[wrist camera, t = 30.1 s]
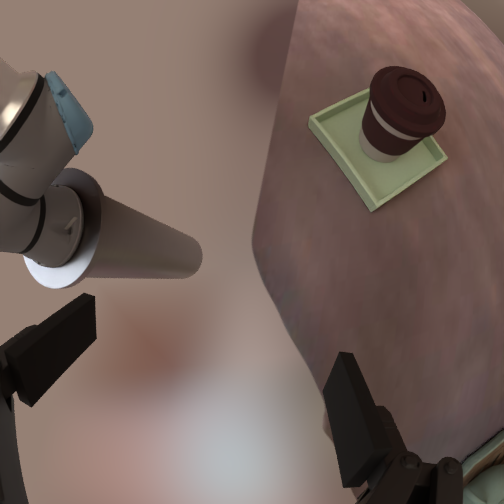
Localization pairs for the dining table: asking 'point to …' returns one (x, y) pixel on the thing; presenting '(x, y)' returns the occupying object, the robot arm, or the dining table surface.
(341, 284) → the dining table surface
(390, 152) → the coffee cup
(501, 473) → the tea set
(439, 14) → the dining table surface
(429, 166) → the tray
